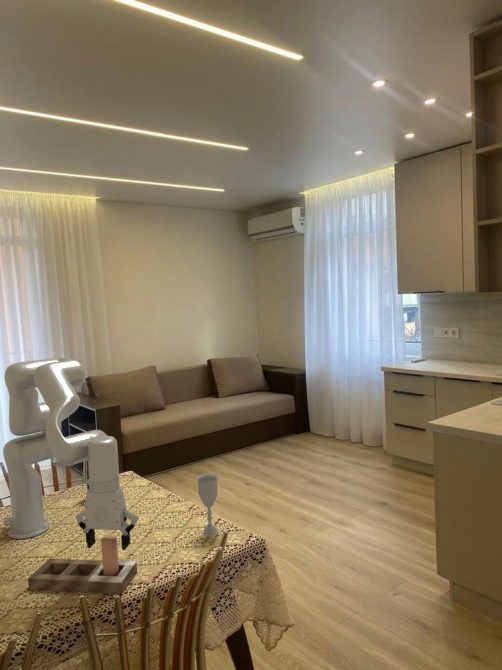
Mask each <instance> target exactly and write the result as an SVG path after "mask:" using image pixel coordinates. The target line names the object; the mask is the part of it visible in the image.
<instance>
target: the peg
mask: <svg viewBox="0 0 502 670" xmlns="http://www.w3.org/2000/svg"><path fill="white" fill-rule="evenodd" d="M100 542H101V543H100V546H101V555H102V556H101V557H102V561H103V572H104V576H116V577H117V576H118V574H119V561H118V560H119V549H118V537H117V535H113V534H110V535H109V534H108V535H105V536H103V537H101V539H100Z"/></svg>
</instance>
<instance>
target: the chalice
mask: <svg viewBox="0 0 502 670" xmlns="http://www.w3.org/2000/svg"><path fill="white" fill-rule="evenodd" d="M195 479H196V482H197V488H198V489H197V491H198V495H199V496H198V497H199V498H200V501H201V502H202V504H203V506H204V507H206V508H207V511H206V514H207V517H206V520H207V522H208V523H207V524H206V525H205V527H204V529H203V531H202V536H203V537H206V538H212V537H215V536H217V535H218V534H219V530H218V528H217V526H216V525H215V524H213V523H212V519H213V517H212V513H213V512H212V511H211V510H212V509H211V507H214V504H215V502H216V499H217V497H218V493H219V492H218V480H219V476H218V475H217V474H215V473H204V474H199V475H197V476H196V477H195Z"/></svg>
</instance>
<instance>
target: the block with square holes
mask: <svg viewBox="0 0 502 670" xmlns="http://www.w3.org/2000/svg"><path fill="white" fill-rule="evenodd" d="M118 561H119V574H118V576H117V577H116V576H104V572H103V560H101V559H100V560H99V559H97V560H93V559H73V558H72V559H71V558H69V559H68V558H48V559H47V560H46V561H45V562H44V563H43V564H42V565H41V566H40V567H39V568H38V569H36V570H35V572H34V573H32V574H31V575H30V576H29V577H28V578H27V583H28V590H32V591H33V590H34V591H35V590H36V591H52V592H72V593H89V592H90V593H91V594H92V593H94V594H109V595H110V594H111V593H115V594H114V595H119V594H118V593H121V594H120V595H123V594H122V593H124V592H125V591H126V589H127V588H128V587H129V585H130V583H131V582H132V581H133V580H134V578H135V576H136V575H137V574H138V563H137V560H121V559H118ZM87 575H88V576H87ZM111 595H112V594H111Z"/></svg>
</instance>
